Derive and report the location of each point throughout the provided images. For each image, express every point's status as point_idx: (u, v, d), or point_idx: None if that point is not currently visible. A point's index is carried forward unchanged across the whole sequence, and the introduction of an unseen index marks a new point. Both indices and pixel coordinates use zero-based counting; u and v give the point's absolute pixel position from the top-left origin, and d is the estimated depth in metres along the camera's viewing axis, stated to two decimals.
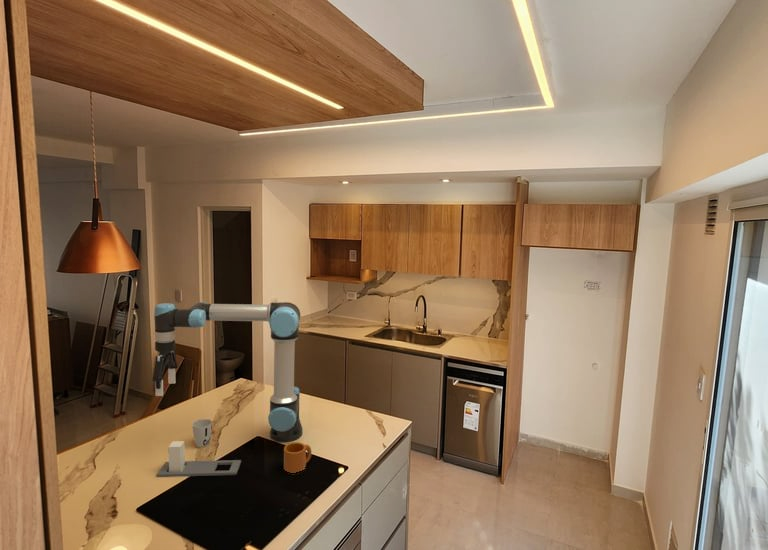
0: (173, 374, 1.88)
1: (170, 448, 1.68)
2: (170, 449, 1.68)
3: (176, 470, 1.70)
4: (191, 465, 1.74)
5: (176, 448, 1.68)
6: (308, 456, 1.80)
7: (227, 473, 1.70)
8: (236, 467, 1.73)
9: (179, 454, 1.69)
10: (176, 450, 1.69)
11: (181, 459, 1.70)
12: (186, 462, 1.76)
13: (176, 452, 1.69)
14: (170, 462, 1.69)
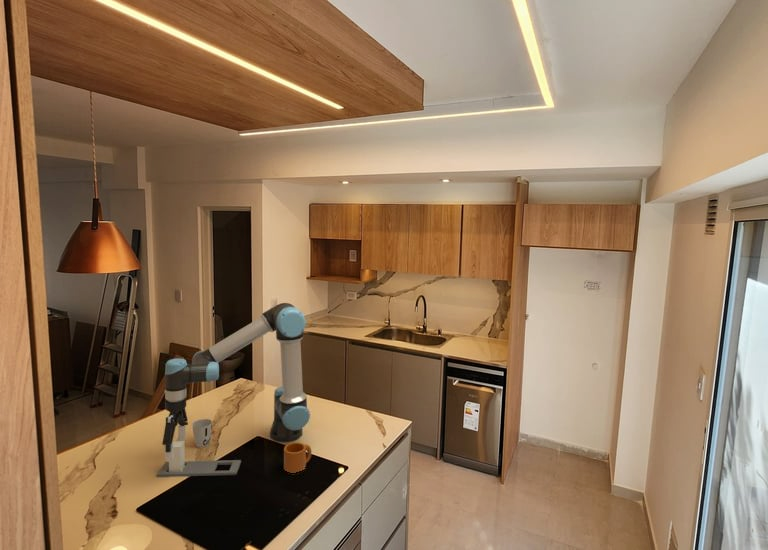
0: (183, 432, 1.77)
1: None
2: None
3: (176, 470, 1.70)
4: (191, 465, 1.74)
5: (176, 448, 1.68)
6: (308, 456, 1.80)
7: (227, 473, 1.70)
8: (236, 467, 1.73)
9: (179, 454, 1.69)
10: (176, 450, 1.69)
11: (181, 459, 1.70)
12: (186, 462, 1.76)
13: (176, 452, 1.69)
14: (170, 462, 1.69)
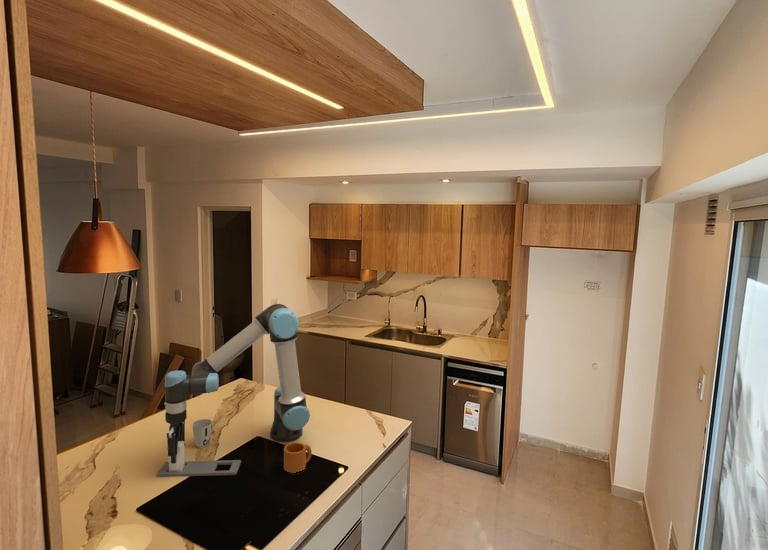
0: None
1: None
2: None
3: (176, 470, 1.70)
4: (191, 465, 1.74)
5: None
6: (308, 456, 1.80)
7: (227, 473, 1.70)
8: (236, 467, 1.73)
9: (179, 454, 1.69)
10: None
11: (181, 458, 1.70)
12: (186, 462, 1.76)
13: None
14: None
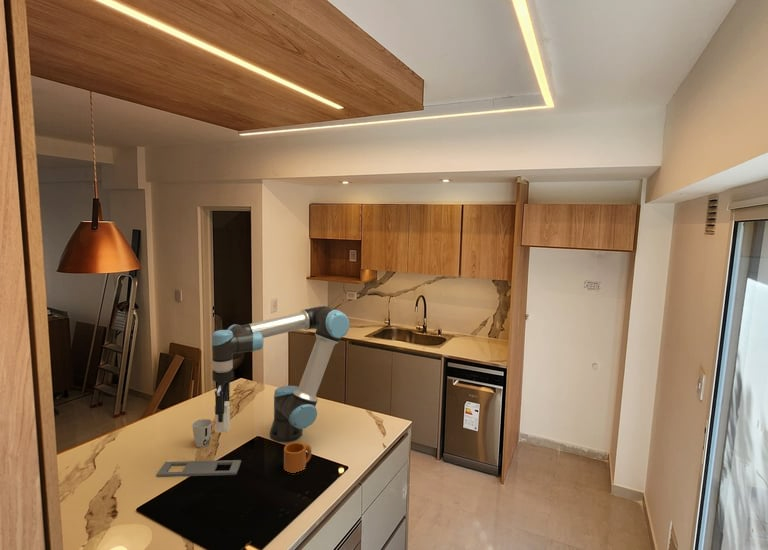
0: None
1: None
2: None
3: (223, 429, 1.70)
4: (191, 465, 1.74)
5: None
6: (308, 456, 1.80)
7: (227, 473, 1.70)
8: (236, 467, 1.73)
9: (226, 413, 1.69)
10: None
11: (227, 418, 1.70)
12: (186, 462, 1.76)
13: None
14: None
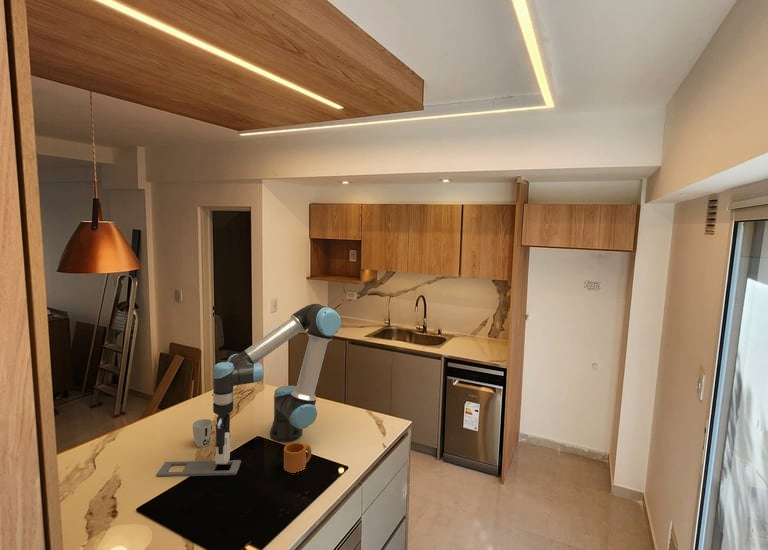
0: None
1: None
2: None
3: (223, 461, 1.71)
4: (191, 465, 1.74)
5: None
6: (308, 456, 1.80)
7: (227, 473, 1.70)
8: (236, 467, 1.73)
9: (226, 445, 1.71)
10: None
11: (227, 449, 1.72)
12: (186, 462, 1.76)
13: None
14: (217, 453, 1.70)
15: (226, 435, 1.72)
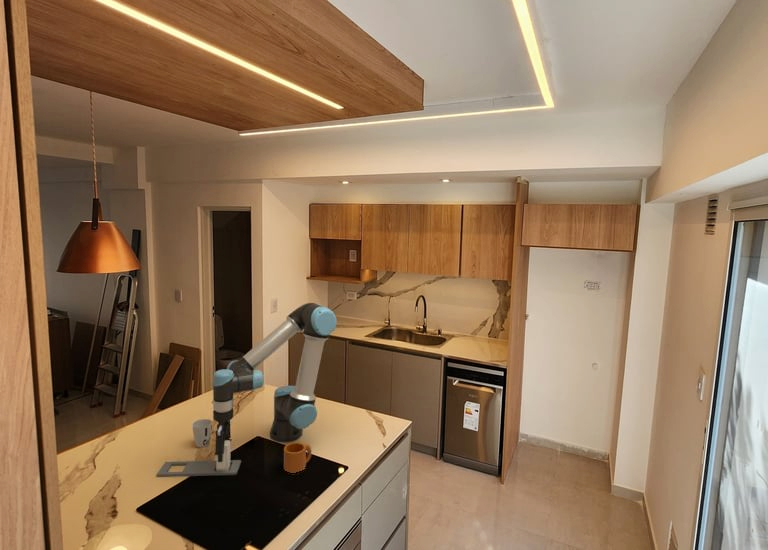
0: None
1: None
2: None
3: (223, 469, 1.72)
4: (191, 465, 1.74)
5: None
6: (308, 456, 1.80)
7: (227, 473, 1.70)
8: (236, 467, 1.73)
9: (226, 453, 1.71)
10: None
11: (228, 457, 1.72)
12: (186, 462, 1.76)
13: None
14: None
15: (226, 443, 1.72)
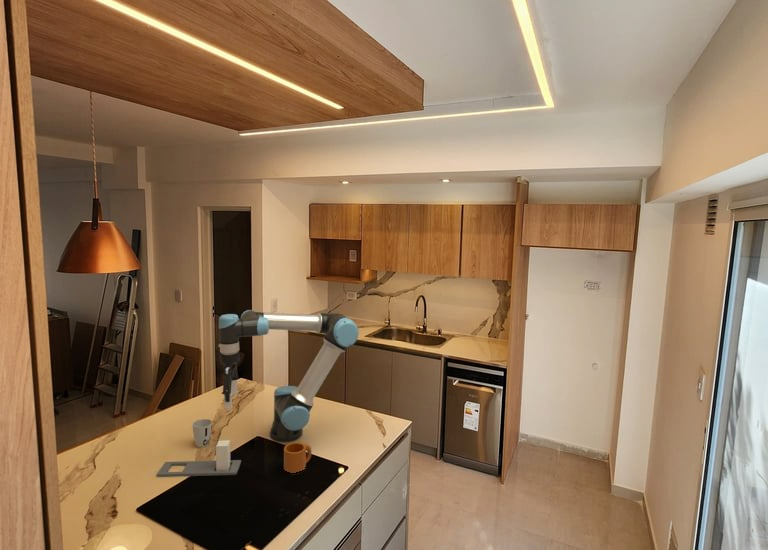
0: (235, 385, 1.84)
1: (217, 447, 1.70)
2: (217, 448, 1.70)
3: (223, 469, 1.72)
4: (191, 465, 1.74)
5: (223, 447, 1.71)
6: (308, 456, 1.80)
7: (227, 473, 1.70)
8: (236, 467, 1.73)
9: (226, 453, 1.71)
10: (223, 449, 1.71)
11: (228, 457, 1.72)
12: (186, 462, 1.76)
13: (223, 452, 1.71)
14: (217, 461, 1.71)
15: (226, 443, 1.72)
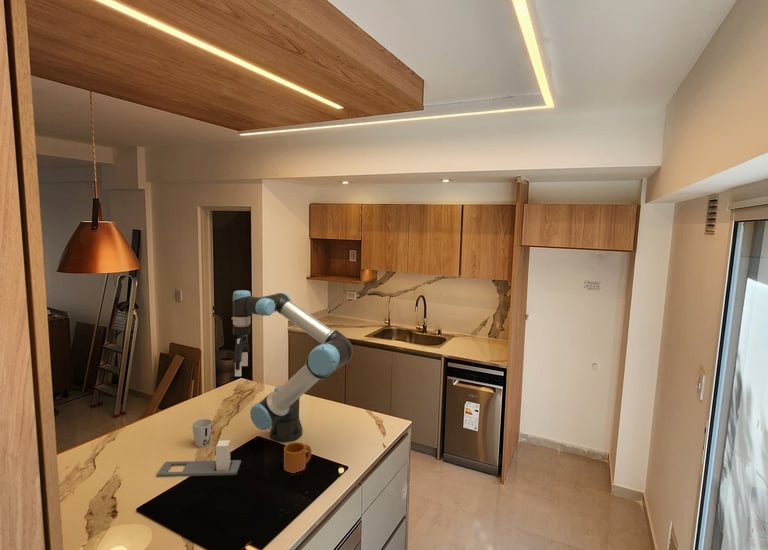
0: (246, 357, 2.00)
1: (217, 447, 1.70)
2: (217, 448, 1.70)
3: (223, 469, 1.72)
4: (191, 465, 1.74)
5: (223, 447, 1.71)
6: (308, 456, 1.80)
7: (227, 473, 1.70)
8: (236, 467, 1.73)
9: (226, 453, 1.71)
10: (223, 449, 1.71)
11: (228, 457, 1.72)
12: (186, 462, 1.76)
13: (223, 451, 1.71)
14: (217, 461, 1.71)
15: (226, 443, 1.72)
